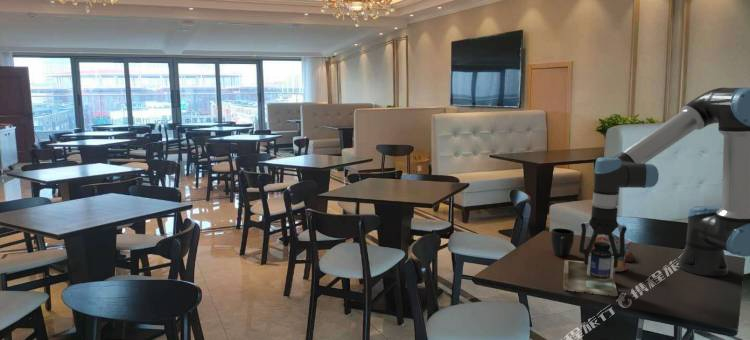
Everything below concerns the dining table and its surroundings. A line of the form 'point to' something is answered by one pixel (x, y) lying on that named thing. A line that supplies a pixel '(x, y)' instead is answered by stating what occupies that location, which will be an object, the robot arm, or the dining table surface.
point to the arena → (586, 280)
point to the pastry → (627, 256)
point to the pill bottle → (600, 260)
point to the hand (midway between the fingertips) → (599, 275)
